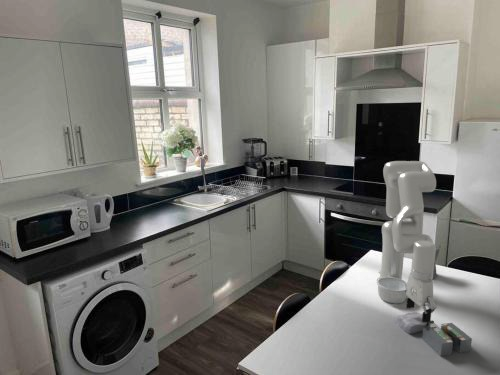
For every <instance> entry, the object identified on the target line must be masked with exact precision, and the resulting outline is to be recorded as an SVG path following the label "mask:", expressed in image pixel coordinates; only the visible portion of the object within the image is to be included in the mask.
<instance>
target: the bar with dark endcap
mask: <svg viewBox="0 0 500 375" xmlns="http://www.w3.org/2000/svg"><path fill="white" fill-rule="evenodd" d="M431 325H434V326H435V327H437V329H439V330H440V331H442V332H443V333H444V334H445V335H446V336H447V337H448V338H450V340H452V338H451V337H450V336H449V335H448V334H447V326H445V329H444V331H443V330H442V329H441V326H439V325H437V324H436V323H435V321H434V320H432V319H431V321H430V322H427V326H431Z"/></svg>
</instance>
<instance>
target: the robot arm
mask: <svg viewBox="0 0 500 375" xmlns="http://www.w3.org/2000/svg"><path fill="white" fill-rule="evenodd" d="M382 172H383V173H382V174H383V179H384V183H385V187H386V196H385V197H386V199H385V202H386V203H385V213H386V216H387V217H388V218H391V219H393V220H389V221H385V222H384V223H382V226H381V234H382V235H381V237H382V252H381V264H380V266H381V267H380V270H378V274H379V276H378V278H377V279H376V283H377V282H378V280H379V279H380V278H382V277H395V278H399V279H402V278H403V269H404V268H403V267H404V259H405V258H404V257H405V254H412V256H411V257H412V259H411V268H410V273H409V274H408V278H407V281H406V282H407V284H405V289H406V291H405V292H406V307H405V308H406V309H414V308H415V304H416V305H417V306H419V307H421V308H422V311H423V312H422V314H423V315H422V322H430V320H431V321H432V314H433V312H435V311H436V309H437V305H436V304H435V302H434V282H433V279H434V278H433V271H434V261H435V252H436V246H435V245H436V244H435V243H434V242H433V238H431V236H430V235H428V234H425V233H424V234H423V231H424V230H423V229H424V227H423V226H424V210H425V209H424V208H425V205H424V198H423V193H432V192H434V191H435V189H436V188H437V179H436V176H435V174H434V172H433V171H432V169H431V168H430V167H429V165H428V164H427V163H426V162H425V161H421V160H420V161H418V160H410V161H409V160H408V161H407V160H394V161H389V162H386V163H384V167H383V170H382ZM405 219H410V220H405ZM435 262H436V261H435ZM402 280H403V279H402Z"/></svg>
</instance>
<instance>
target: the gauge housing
mask: <svg viewBox="0 0 500 375" xmlns="http://www.w3.org/2000/svg"><path fill="white" fill-rule="evenodd" d="M440 325H441V326H440V328H441V329H442V330H443V331H444V329H445V326H447V334H448V335H449V336H450V337H451V338H452V340H450V338H448V337H447V336H446V335H445V334H444V333H443V332H442V331H440V330H439V329H437V327H435V326H434V325H431V326H426V327H423V331H422V337H421V339H422V340H423V342H424V343H426V344H427V345H428V346H429V347H430V348H431V349H432V350H434V352H435V353H436V354H437V355H439V357H444V356H450V355H452V353H453V349H454V350H455V351H457V353H459V354H462V353H467V352H471V350H472V349H471V347H472V342H473V341H472V340H473V338H472V337H471V336H469V334H467V333H466V332H464V330H462V329H460V328H459V327H458V326H456V325H455V324H454V323H453V322H448V323H446V322H444V323H442V324H440Z"/></svg>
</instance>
